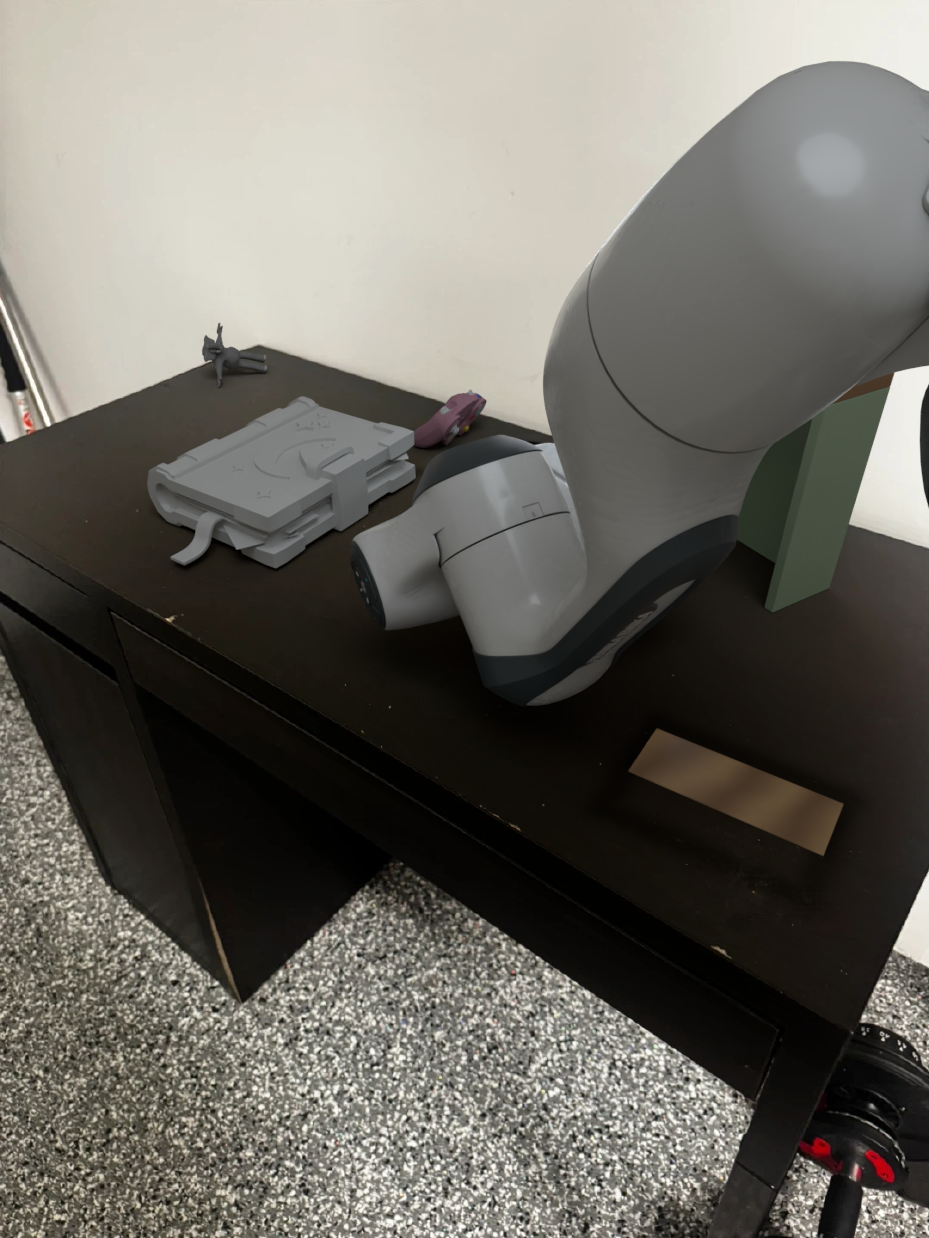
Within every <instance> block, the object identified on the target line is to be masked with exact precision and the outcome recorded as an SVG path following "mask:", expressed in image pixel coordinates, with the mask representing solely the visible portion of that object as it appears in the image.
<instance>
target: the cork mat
mask: <svg viewBox="0 0 929 1238" xmlns="http://www.w3.org/2000/svg"><path fill="white" fill-rule="evenodd" d="M627 772H629V773H630V774H633V775H635V776H637V777H640V778H643V779H644V780H647V781H649V782H651V783H654V784H655V785H656V784H657V785H658V786H661V787H663V788H665V789H667V790H670V791H673V792H675V793H677V794H679V795H682V796H684V797H687V798H689V799H691V800H693V801H695V802H698V803H700V804H702V805H704V806H707V807H709V808H712V809H714V810H716V811H719V812H721V813H723V814H724V815H728V816H730V817H732V818H734V819H737V820H740V821H742V822H744V823H746V824H749V825H751V826H753V827H756V828H758V829H760V830H763V831H765V832H767V833H769V834H772V835H773V836H776V837H778V838H781V839H783V840H785V841H788V842H790V843H793V844H795V845H797V846H799V847H802V848H804V849H806V850H809V851H811V852H813V853H815V854H818V855H820V856H822V857H825V854H826V851H827V848H828V846H829V843H830V841H831V838H832V835H833V834H834V831H835V827H836V825H837V823H838V820H839V818H840V815H841V812H842V810H843V807H844V803H843V802H840V801H838V800H835V799H833V798H830V797H828V796H825V795H823V794H820V793H818V792H816V791H813V790H811V789H808V788H805V787H803V786H800V785H798V784H796V783H793V782H791V781H789V780H785V779H783V778H780V777H779V776H775V775H773V774H771V773H769V772H766V771H764V770H762V769H758V768H756V767H754V766H752V765H749V764H746V763H744V762H741V761H739V760H736V759H734V758H732V757H729V756H727V755H725V754H723V753H719V752H717V751H715V750H712V749H708V748H707V747H704V746H702V745H699V744H697V743H694V742H693V741H689V740H687V739H684V738H682V737H679V736H677V735H674V734H673V733H669V732H667V731H664V730H662V729H661V728H656V729H655V730H654V731H653V733H652V734H651V736H650V737H649V739H648V740H647V742H646V743H645V745H644V746H643V748H642V750H641V751H640V752H639V754H638V755H637V757H636V759H634V761H633V762H632V764H631V766H630V767H629V769H628V770H627Z"/></svg>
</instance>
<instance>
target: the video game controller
mask: <svg viewBox="0 0 929 1238" xmlns="http://www.w3.org/2000/svg"><path fill="white" fill-rule="evenodd" d="M486 405H487V399H486V398H485V397H483V396H482V395H480V394H479V393H477V392H473V390H472V389H469V390H468V392H462V393H461V392H460V393H456V394H453V395H451V396H450V397H449V398H448V399H447V401H446V402H445V404H444V405H443V406H441V408H439V409H438V410H437V411H436V412H435V413H434V415H433V416H432V417H431V418H430V419H429V420H428V421H427V422H425V423H424V424H422V425H420V426H419V427H417V428H416V429H415V430H413V431H414V445H413V446H414V447H416V448H419V449H420V448H421V449H427V448H431V447H432V446H434V445H436V444H438V443H440V442H441V443H442V444H444V445H445V446H448V445H449V444H450V443H451V442H452V441H453V440H454V438H455V437H456V436H457V435H458V436H462V435H463V434H464V433H466V432H468V431H469V429H470V426H471V425H472V423H473V422H474V421H475V420H476V419H477V418H478V416H480V414H481V413H482V411H483V410H484V409H485V406H486Z"/></svg>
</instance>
